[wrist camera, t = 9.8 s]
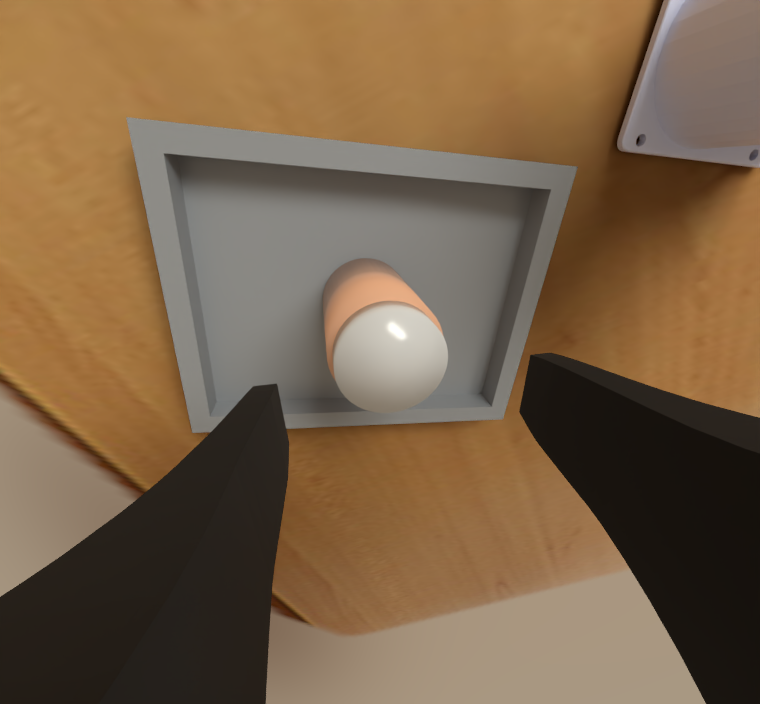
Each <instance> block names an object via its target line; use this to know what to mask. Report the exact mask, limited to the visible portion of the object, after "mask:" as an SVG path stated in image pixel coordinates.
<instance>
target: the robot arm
mask: <svg viewBox="0 0 760 704" xmlns="http://www.w3.org/2000/svg"><path fill="white" fill-rule="evenodd" d="M638 136H639V142H638V144H637V145H636V139H637V138H638ZM617 147H618V149H619V150H620V151H622V152H631V153H639V154H647V155H655V156H663V157H672V158H680V159H688V160H696V161H704V162H713V163H721V164H729V165H737V166H745V167H754V168H760V0H664V1H663V4H662V7H661V10H660V13H659V16H658V19H657V22H656V25H655V28H654V31H653V34H652V37H651V40H650V43H649V46H648V49H647V52H646V55H645V58H644V61H643V64H642V67H641V70H640V73H639V76H638V79H637V82H636V85H635V88H634V91H633V94H632V97H631V100H630V104H629V107H628V110H627V113H626V116H625V119H624V122H623V125H622V128H621V131H620V134H619V137H618V140H617ZM519 412H520V414H521V416H522V417H523V419H524V421H525V423H526V425H527V426H528V428H529V430H530V431H531V433H532V435H533V436H534V438H535V439H536V441H537V442H538V444H539V445H540V446H541V448H542V449H543V450H544V451H545V453H546V454H547V455H548V457H549V458H550V459H551V460H552V462H553V463H554V464H555V465H556V467H557V468H558V469H559V470H560V472H561V473H562V474H563V475H564V477H565V478H566V479H567V480H568V482H569V483H570V484H571V485H572V487H573V488H574V489H575V490H576V492H577V493H578V494H579V495H580V497H581V498H582V499H583V500H584V502H585V503H586V504H587V505H588V507H589V508H590V509H591V511H592V512H593V513H594V515H595V516H596V518H597V519H598V520H599V522H600V523H601V524H602V526H603V527H604V529H605V531H606V532H607V534H608V535H609V537H610V538H611V540H612V541H613V543H614V544H615V546H616V547H617V549H618V550H619V552H620V553H621V555H622V556H623V558H624V560H625V561H626V563H627V564H628V566H629V568H630V569H631V571H632V573H633V574H634V576H635V577H636V579H637V581H638V582H639V584H640V586H641V587H642V589H643V590H644V592H645V594H646V595H647V597H648V599H649V600H650V602H651V604H652V605H653V607H654V609H655V611H656V612H657V614H658V616H659V618H660V620H661V621H662V623H663V625H664V626H665V628H666V630H667V632H668V633H669V635H670V637H671V639H672V641H673V642H674V644H675V646H676V648H677V649H678V651H679V653H680V655H681V657H682V659H683V660H684V662H685V664H686V666H687V668H688V670H689V672H690V674H691V676H692V677H693V680H694V681H695V683H696V685H697V687H698V689H699V691H700V693H701V695H702V697H703V699H704V701H705V702H706V704H760V418H758V417H754V416H750V415H746V414H743V413H739V412H735V411H731V410H728V409H724V408H720V407H716V406H712V405H709V404H705V403H702V402H698V401H695V400H692V399H688V398H685V397H682V396H679V395H676V394H673V393H670V392H666V391H663V390H660V389H657V388H654V387H651V386H648V385H645V384H642V383H639V382H637V381H634V380H631V379H628V378H625V377H622V376H620V375H617V374H614V373H611V372H608V371H606V370H603V369H600V368H597V367H594V366H592V365H589V364H586V363H583V362H580V361H577V360H574V359H571V358H568V357H564V356H561V355H557V354H553V353H544V354H535V355H530V361H529V366H528V371H527V376H526V381H525V386H524V391H523V396H522V401H521V406H520V411H519ZM288 464H289V440H288V436H287V431H286V426H285V421H284V416H283V411H282V406H281V401H280V396H279V391H278V386H277V384H268V385H259V386H253V387H252V388H251V389H250V390H249V391H248V392H247V393H246V394H245V396H244V397H243V398H242V399H241V400H240V401H239V402H238V403H237V404H236V406H235V407H234V408H233V409H232V410H231V411H230V412H229V413H228V414H227V415H226V417H225V418H224V419H223V420H222V421H221V422H220V423H219V424H218V425H217V426H216V427H215V428H214V429H213V431H212V432H211V433H210V434H209V435H208V436H207V437H206V438H205V439H204V440H203V441H202V442H201V443H200V444H198V445H197V446H196V447H195V448H194V449H193V450H192V451H191V452H190V453H189V454H188V455H187V456H186V457H185V458H184V459H183V460H182V461H181V462H180V463H179V464H178V465H177V466H176V467H175V468H173V469H172V470H171V471H170V472H169V473H168V474H167V475H166V476H164V477H163V478H162V479H161V480H160V481H159V482H158V483H156V484H155V485H154V486H153V487H152V488H150V489H149V490H148V491H147V492H146V493H144V494H143V495H142V496H141V497H139V498H138V499H137V500H136V501H135V502H133V504H131V505H130V506H128V507H127V508H126V509H125V510H123V511H122V512H121V513H120V514H118V515H117V516H115V517H114V518H113V519H112V520H110V521H109V522H107V523H106V524H104V525H103V526H102V527H100V528H99V529H98V530H96V531H95V532H94V533H92V534H91V535H89V536H88V537H87V538H85V539H84V540H83V541H81V542H80V543H79V544H77V545H76V546H74V547H73V548H72V549H70V550H69V551H68V552H66V553H65V554H64V555H62V556H61V557H59V558H58V559H57V560H55V561H54V562H52V563H50V564H49V565H48V566H46V567H45V568H43V569H42V570H40V571H39V572H37V573H36V574H34V575H33V576H31V577H30V578H28V579H27V580H25V581H24V582H22V583H21V584H19V585H18V586H16V587H15V588H13V589H12V590H10V591H9V592H7V593H5V594H4V595H3V596H1V597H0V704H265V703H266V682H267V681H266V680H267V663H268V643H269V626H270V611H271V595H272V582H273V573H274V565H275V558H276V552H277V545H278V539H279V533H280V526H281V520H282V514H283V507H284V501H285V494H286V488H287V481H288Z"/></svg>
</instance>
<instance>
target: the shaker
mask: <svg viewBox="0 0 760 704" xmlns="http://www.w3.org/2000/svg"><path fill="white" fill-rule="evenodd" d="M322 301H323V314H324V327H325V340H326V353H327V362H328V366H329V369H330V372H331V374H332V376H333V378H334V379H335V381H336V383H337V385H338V387H339V389H340V391H341V392H342V394H343V395H344V396H345V397H346V398H347V399H348V400H349V401H350V402H351V403H353V404H354V405H356V406H358V407H360V408H362V409H365V410H367V411H371V412H377V413H392V412H398V411H402V410H405V409H408V408H411V407H413V406H415V405H417V404H419V403H420V402H422V401H423V400H425V399H426V398H427V397H428V396H429V395H430V394H432V393H433V391H434V390H435V389H436V388H437V387H438V385H439V384H440V382H441V380H442V378H443V377H444V374H445V371H446V368H447V363H448V349H447V344H446V341H445V339H444V337H443V332H442V329H441V326H440V323H439V322H438V320H437V318H436V317H435V315H434V314H433V313H432V312H431V310H430V309H429V308H428V307H427V306H426V305H425V304H424V302H423V301H422V300H421V299H420V298H419V297H418V296H417V294H416V293H415V292H414V291H413V290H412V289H411V288H410V287H409V285H408V284H407V283H406V282H405V281H404V280H403V279H402V277H401V276H400V275H399V274H398V273H397V272H396V271H395V270H394V269H393V268H392V267H391V266H389V265H388V264H386V263H384V262H382V261H380V260H376V259H371V258H360V259H355V260H352V261H349V262H347V263H345V264H343V265H342V266H340V267H339V268H338V269H336V270H335V271H334V272H333V273H332V275H331V276H330V277H329V279H328V281H327V283H326V285H325V288H324V291H323V300H322Z"/></svg>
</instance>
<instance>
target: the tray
mask: <svg viewBox="0 0 760 704" xmlns="http://www.w3.org/2000/svg"><path fill="white" fill-rule="evenodd" d="M126 118H127V123H128V128H129V132H130V137H131V142H132V147H133V151H134V156H135V161H136V166H137V171H138V175H139V180H140V185H141V190H142V194H143V199H144V204H145V209H146V214H147V218H148V223H149V228H150V233H151V237H152V242H153V247H154V252H155V257H156V261H157V266H158V271H159V276H160V281H161V285H162V290H163V295H164V300H165V304H166V309H167V314H168V319H169V324H170V328H171V333H172V338H173V343H174V347H175V352H176V357H177V362H178V367H179V371H180V376H181V381H182V386H183V390H184V395H185V400H186V405H187V410H188V414H189V419H190V424H191V429H192V433H202V432H212V431H213V429H214V428H215V427H216V426H217V425H218V424H219V423H220V422H221V421H222V420H223V419H224V418H225V417H226V415H227V414H228V413H229V412H230V411H231V410H232V409H233V408H234V407H235V406H236V404H237V403H238V402H239V401H240V400H241V399H242V398H243V397H244V396H245V394H246V393H247V392H248V391H249V390H250V389H251V388H252V387H253V386H259V385H268V384H277V386H278V391H279V396H280V401H281V406H282V411H283V416H284V421H285V426H286V429H293V428H316V427H338V426H361V425H383V424H406V423H429V422H451V421H474V420H497V419H503V417H504V414H505V410H506V407H507V404H508V400H509V397H510V394H511V390H512V387H513V383H514V380H515V377H516V373H517V370H518V367H519V363H520V360H521V357H522V353H523V350H524V346H525V343H526V340H527V336H528V333H529V330H530V326H531V323H532V319H533V316H534V313H535V309H536V306H537V303H538V299H539V296H540V292H541V289H542V286H543V282H544V279H545V276H546V272H547V269H548V266H549V262H550V259H551V255H552V252H553V249H554V245H555V242H556V239H557V235H558V232H559V228H560V225H561V222H562V218H563V215H564V212H565V208H566V205H567V202H568V198H569V195H570V191H571V188H572V185H573V181H574V178H575V175H576V171H577V168H578V167H576V166H567V165H558V164H549V163H540V162H531V161H521V160H512V159H503V158H494V157H485V156H476V155H466V154H457V153H448V152H439V151H430V150H421V149H412V148H402V147H393V146H384V145H375V144H366V143H357V142H347V141H338V140H329V139H320V138H311V137H302V136H293V135H283V134H274V133H265V132H256V131H247V130H238V129H229V128H219V127H210V126H201V125H192V124H183V123H174V122H164V121H155V120H146V119H137V118H128V117H126ZM360 258H371V259H376V260H380V261H382V262H384V263H386V264H388V265H389V266H391V267H392V268H393V269H394V270H395V271H396V272H397V273H398V274H399V275H400V276H401V277H402V279H403V280H404V281H405V282H406V283H407V284H408V285H409V287H410V288H411V289H412V290H413V291H414V292H415V293H416V294H417V296H418V297H419V298H420V299H421V300H422V301H423V302H424V304H425V305H426V306H427V307H428V308H429V309H430V310H431V312H432V313H433V314H434V315H435V317H436V318H437V320H438V322H439V323H440V326H441V329H442V332H443V337H444V339H445V341H446V344H447V349H448V363H447V368H446V371H445V374H444V377H443V378H442V380H441V382H440V384H439V385H438V387H437V388H436V389H435V390H434V391H433V393H432V394H430V395H429V396H428V397H427V398H426V399H425V400H423V401H422V402H420V403H419V404H417V405H415V406H413V407H411V408H408V409H405V410H402V411H398V412H392V413H377V412H371V411H367V410H365V409H362V408H360V407H358V406H356V405H354V404H353V403H351V402H350V401H349V400H348V399H347V398H346V397H345V396H344V395H343V394H342V392H341V391H340V389H339V387H338V385H337V383H336V381H335V379H334V378H333V376H332V374H331V372H330V369H329V366H328V362H327V353H326V340H325V327H324V314H323V301H322V300H323V291H324V288H325V285H326V283H327V281H328V279H329V277H330V276H331V275H332V273H333V272H334V271H335V270H336V269H338V268H339V267H340V266H342V265H343V264H345V263H347V262H349V261H352V260H355V259H360Z"/></svg>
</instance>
